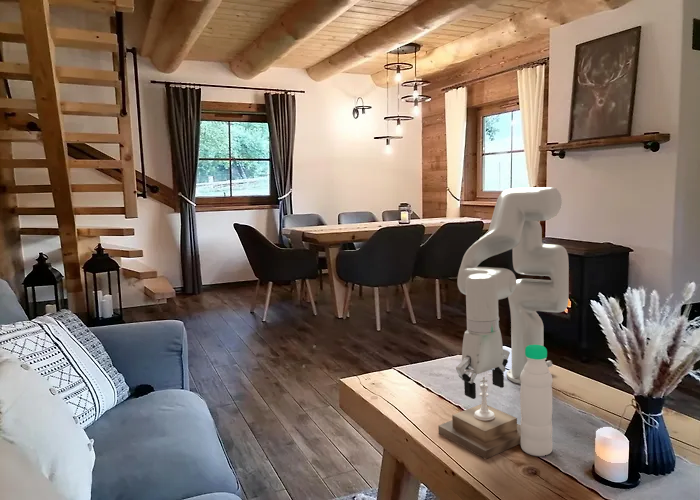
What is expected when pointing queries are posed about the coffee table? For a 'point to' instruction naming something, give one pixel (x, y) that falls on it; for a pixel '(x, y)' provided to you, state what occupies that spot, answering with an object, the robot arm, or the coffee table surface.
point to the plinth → (478, 444)
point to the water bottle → (536, 403)
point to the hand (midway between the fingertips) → (484, 391)
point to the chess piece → (484, 404)
